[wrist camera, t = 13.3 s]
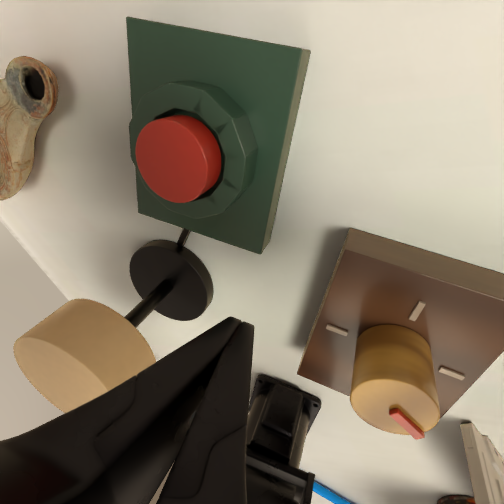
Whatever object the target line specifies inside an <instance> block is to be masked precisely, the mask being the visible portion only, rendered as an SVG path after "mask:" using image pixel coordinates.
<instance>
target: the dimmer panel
mask: <svg viewBox="0 0 504 504" xmlns="http://www.w3.org/2000/svg"><path fill="white" fill-rule="evenodd" d="M378 325H398V326H402V327H405V328H408V329H411V330H413V331H414V332H416V333H418V334H419V335H420V336H422V337H423V338H424V339H425V340H426V342H427V343H428V345H429V347H430V349H431V354H432V360H433V367H434V374H435V381H436V388H437V395H438V401H439V408H440V418H441V417H442V416H443V415H444V414H445V413H446V412H447V411H448V410H449V409H450V408H451V406H452V405H453V404H454V403H455V402H456V401H457V400H458V399H459V398H460V397H461V396H462V395H463V394H464V393H465V392H466V391H467V389H468V388H469V387H470V386H471V385H472V384H473V383H474V382H475V381H476V380H477V379H478V378H479V377H480V376H481V375H482V374H483V372H484V371H485V370H486V369H487V368H488V367H489V366H490V365H491V364H492V363H493V362H494V361H495V360H496V359H497V358H498V357H499V355H500V354H501V353H502V352H503V351H504V274H502V273H499V272H495V271H492V270H489V269H486V268H482V267H479V266H476V265H472V264H469V263H466V262H462V261H459V260H456V259H452V258H449V257H446V256H443V255H439V254H436V253H433V252H429V251H426V250H423V249H419V248H416V247H413V246H409V245H406V244H403V243H400V242H396V241H393V240H390V239H386V238H383V237H380V236H376V235H373V234H370V233H366V232H363V231H360V230H357V229H353V228H350V229H349V232H348V234H347V237H346V240H345V242H344V245H343V247H342V250H341V253H340V255H339V258H338V261H337V263H336V266H335V269H334V271H333V274H332V277H331V279H330V282H329V284H328V287H327V290H326V292H325V295H324V298H323V300H322V303H321V306H320V308H319V311H318V314H317V316H316V319H315V322H314V324H313V327H312V329H311V332H310V335H309V337H308V340H307V343H306V345H305V348H304V352H303V355H302V358H301V362H300V365H299V368H298V372H297V374H298V375H300V376H303V377H305V378H307V379H310V380H312V381H315V382H317V383H319V384H322V385H324V386H326V387H329V388H331V389H334V390H336V391H338V392H341V393H343V394H345V395H348V396H350V392H351V384H352V375H353V367H354V358H355V350H356V343H357V339H358V338H359V336H360V335H361V334H362V333H363V332H364V331H365V330H367V329H369V328H371V327H374V326H378ZM440 418H439V419H440Z"/></svg>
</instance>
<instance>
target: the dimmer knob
mask: <svg viewBox="0 0 504 504" xmlns="http://www.w3.org/2000/svg"><path fill="white" fill-rule="evenodd" d="M350 402H351V405H352V407H353V409H354V411H355V412H356V413H357V415H358V416H359V417H360V418H362V419H363V420H364V421H365V422H367V423H368V424H370V425H372V426H374V427H376V428H378V429H381V430H383V431H387V432H390V433H395V434H403V435H411V436H412V437H413V438H414V439H421V438H425V435H424V432H426V431H429V430H430V429H432V428H433V427H434V426H435V425H436V424H437V423H438V421H439V418H440V408H439V401H438V395H437V388H436V381H435V374H434V367H433V360H432V354H431V349H430V347H429V345H428V343H427V342H426V340H425V339H424V338H423V337H422V336H420V335H419V334H418V333H416V332H414V331H413V330H411V329H408V328H405V327H402V326H398V325H378V326H374V327H371V328H369V329H367V330H365V331H364V332H363V333H362V334H361V335H360V336H359V338H358V339H357V343H356V350H355V358H354V367H353V375H352V384H351V392H350Z"/></svg>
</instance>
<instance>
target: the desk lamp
mask: <svg viewBox="0 0 504 504" xmlns="http://www.w3.org/2000/svg"><path fill="white" fill-rule="evenodd" d="M189 233H190V230H187V229H183V231H182V233H181V236H180V238H179V240H178V242H177V243H175V242H171V241H167V240H155V241H151V242H149V243H147V244H146V245H144V246H143V247H141V248H140V249H139V250H137V251H136V252H135V253H134V255H133V256H132V258H131V261H130V276H131V280H132V282H133V285H134V287H135V289H136V290H137V292H138V294H139V295H140V296H141V297H142V299H143V300H142V301H141V302H140V303H139V304H138V305H137V306H136V307H135V308H134V309H132V310H131V311H130V312H129V313H128V314H127V315H126V316H125V317H123V316H122V315H120V314H119V313H117V312H116V311H114V310H113V309H111V308H109V307H107V306H105V305H103V304H101V303H98V302H96V301H92V300H89V299H74V300H71V301H68V302H67V303H66V304H64V305H63V306H62V307H60V308H59V309H58V310H56V311H55V312H53V313H52V314H51V315H49V316H48V317H47V318H45V319H44V320H43V321H41V322H40V323H39V324H37V325H36V326H35V327H33V328H32V329H31V330H29V331H28V332H26V333H25V334H24V335H23V336H21V337H20V338H18V339H17V340H16V342H15V344H14V348H13V349H14V356H15V358H16V361H17V363H18V365H19V367H20V369H21V370H22V372H23V373H24V375H25V376H26V377H27V379H28V380H29V381H30V383H31V384H32V385H33V386H34V387H35V388H36V389H37V390H38V391H39V392H40V393H41V394H42V395H43V396H44V397H45V398H46V399H47V400H48V401H50V402H51V403H52V404H53V405H54V406H56V407H57V408H59V409H60V410H61V411H63V412H64V413H67V412H69V411H71V410H73V409H75V408H77V407H79V406H81V405H83V404H85V403H87V402H89V401H91V400H93V399H95V398H97V397H98V396H100V395H102V394H104V393H106V392H108V391H109V390H111V389H113V388H115V387H116V386H118V385H120V384H121V383H123V382H125V381H126V380H128V379H129V378H131V377H133V376H134V375H136V376H137V374H138V373H139V372H141V371H143V370H144V369H146V368H147V367H149V366H151V365H152V364H154V363H155V362H156V360H155V356H154V354H153V352H152V350H151V348H150V346H149V344H148V343H147V341H146V340H145V338H144V337H143V336H142V335H141V333H140V332H139V331H138V330H137V329H136V327H137V326H138V325H139V324H140V323H141V322H142V321H143V320H144V319H145V318H146V317H147V316H148V315H149V314H150V313H151V312H152V311H153V310H156V311H157V312H158V313H160V314H162V315H164V316H166V317H168V318H171V319H175V320H180V321H188V320H193V319H195V318H198V317H199V316H200V315H201V314H202V313H203V312H204V311H205V310H206V308H207V307H208V306H209V304H210V303H211V300H212V297H213V284H212V280H211V277H210V274H209V272H208V271H207V269H206V267H205V266H204V264H203V263H202V262H201V261H200V259H199V258H198V257H197V256H196V255H195V254H193V253H192V252H191V251H190V250H188V249H187V248H185V247H183V246H184V244H185V242H186V239H187V237H188V235H189Z"/></svg>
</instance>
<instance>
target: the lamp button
mask: <svg viewBox="0 0 504 504" xmlns="http://www.w3.org/2000/svg"><path fill="white" fill-rule="evenodd" d="M136 160H137V165H138V168H139V170H140V173H141V175H142V177H143V179H144V180H145V182H146V183H147V184H148V186H149V187H150V188H151V189H152V190H153V191H154V192H155V193H156V194H157V195H159V196H160V197H162V198H164V199H166V200H168V201H171V202H175V203H186V202H190V201H192V200H194V199H196V198H197V197H199V196H200V195H202V194H203V193H205V192H206V191H207V190H209V189H210V188H211V187H212V186H213V185H214V184H215V183H216V181H217V180H218V177H219V175H220V171H221V162H222V161H221V153H220V149H219V146H218V143H217V141H216V139H215V137H214V135H213V134H212V133H211V131H210V130H209V129H208V128H207V127H206V126H205V125H204V124H203V123H202V122H200V121H199V120H197V119H195V118H193V117H190V116H187V115H174V116H170V117H165V118H161V119H157V120H154V121H151V122H150V123H148V124H147V125H146V126H145V127H144V128H143V129H142V130H141V132H140V134H139V136H138V138H137V142H136Z"/></svg>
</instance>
